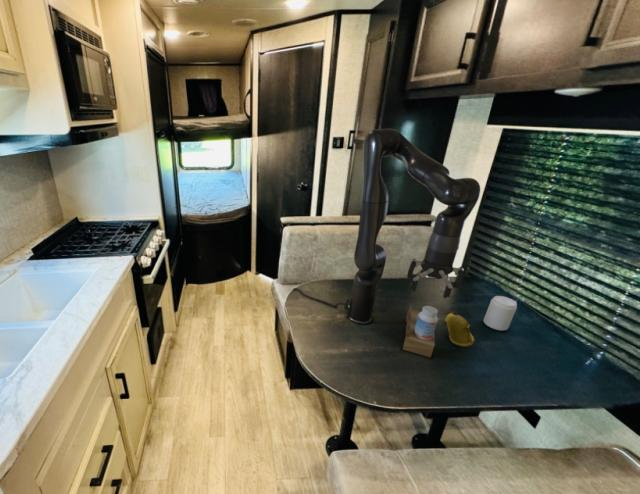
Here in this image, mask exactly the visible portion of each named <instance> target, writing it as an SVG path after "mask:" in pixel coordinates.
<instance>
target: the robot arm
mask: <svg viewBox="0 0 640 494" xmlns="http://www.w3.org/2000/svg"><path fill="white" fill-rule="evenodd" d="M362 143H363V144H362V188H361V197H360V209H359V222H358V231H357V232H358V233H357V239H356V244H355V249H354V253H353V260H354V261H353V262H354V265H355V266H356V268H357V269H358V270H357V271H356V272H355V274H354V277H353V282H352V290H351V295H350V298H346V300H345V302H337V303H336V304H331V303H329V302H326V301H325V300H321V299H320V298H319V299H318V298H316V297H312V296H310V295H307V294H305V293H304V292H303V291H302V290H300V289H299V288H297V287H294V288H292V290H293V291H298V292H299V293H300V294H301V295H302V296H304V297H306V298H308V299H310V300H314V301H317V302H320V303H322V304H325V305H326V306H329V307H333V308H337V307H338V306H340V305H341V306H342V305H343V306H344V307H343V310H344V311H347V315H346V318H347V319H349V320H350V321H352V322H353V323H356V324H360V325H361V324H362V325H366V324H369V323H370V322H372V316H373V313H374V312H375V310H374V308H375V307H374V306H375V302H376V297H377V293H378V287H379V282H380V281H381V279H382V277H383V274H384V270H385V265H386V262H387V253H386V249H384V247H383V246H382V245H380V244H378V243H377V240H378V236H379V233H380V231H381V229H382V227H383V225H384V223H385V220H386V217H387V214H388V210H389V201H390V195H389V191H388V188H387V186H386V183H385V181H384V179H383V177H382V171H381V169H382V168H381V167H382V158H388V157H391V158H394V159H397V160H399V161H400V162H401V163H403V165H404V167H405V169H406V171H407V172H408V174H409V175H410V176H411V177H412V178H413V179H414V180H416V181H417V182H418V183H420V184H421V185H423V186H424V187H426V188H427V190H428V191H429V192H430V193H431V195H432V196H433V197H434V199H436V201H438V202H439V203H441V204H443V205H445V206H447V207H446V208H445V209H444V210H441V211H440V212H439V213H438V214H437V215H436V217H435V221H434V225H433V228H432V232H431V234H430V236H429V238H428V242H427V247H426V249H425V254H424V258H423V260H422V261H421V260H417V259H416V258H412V259H411V260H410V264H409V268H408V269H407V270H408V271H407V275H406V277H407V278H408V279H411V285H410V290H412V292H416V290H417V285H418V282H419V280H420V279H423V278H425V277H426V276H427V277H428V278H434V279H437V280H440V279H442V280H443V282H444V283H445V288H444V290H443V293H442V294H443V295H442V298H443V299H447V298H449V297H450V296H451V293H452V290H453V289H455V288H456V289H460V288H461V287H462V284H463V283H462V282H463V279H464V275H465V269H464V267H463V266H460V267H454V262H455V259H456V255H457V252H458V250H459V247H460V243H461V237H462V233H463V230H464V227H465V224H466V221H467V219H468V218H469V216H470V215H471V214H472V211H473V209H474V208H475V206H476V205H477V203H478V201H479V199H480V196H481V185H480V183H479V181H478V180H477V179H475V178H472V177H463V178H453V177H451V176H450V174H451V173H450V170H449V169H448V167H446V166H445V165H443V164H442V163H440V162H438V161H437V160H435V159H434V158H431V157H430V156H428V155H427V154H425V153H424V152H422V151H421V150H420V149H419V148H417V147H416V146H415V145H414V144H413V143H412V142H410V141H409V139H407V138H406V137H405V136H404V135H403V134H402V133H401V132H400V131H398V130H397V129H395V128H375V129H371V130H369V131H368V132H367V133H366V134H365V136H364V139H363V142H362ZM419 266H420V267H421V269H420V270H418V272H416V273H414V271H415V268H418V267H419ZM452 273H454V275H455V276H456V277H455V280H454V281H452V280H451V278H450V276H449V275H451V274H452Z"/></svg>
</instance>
